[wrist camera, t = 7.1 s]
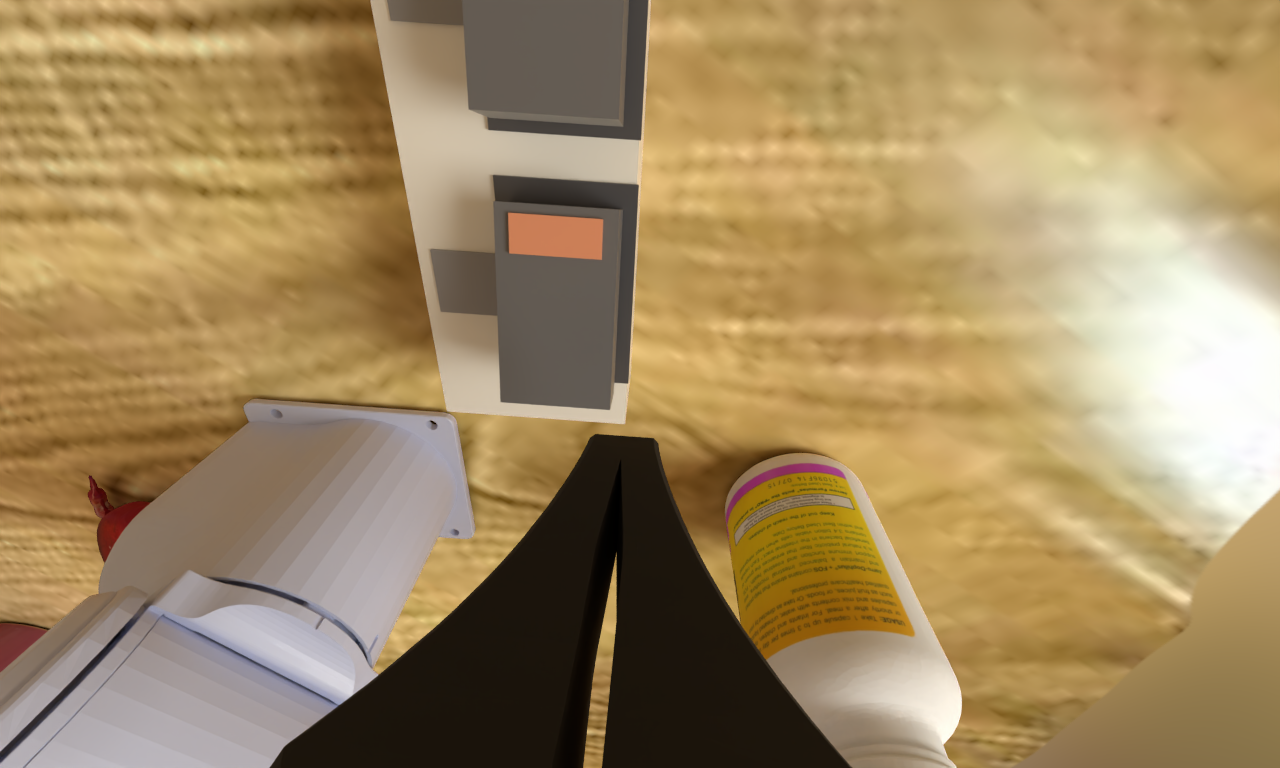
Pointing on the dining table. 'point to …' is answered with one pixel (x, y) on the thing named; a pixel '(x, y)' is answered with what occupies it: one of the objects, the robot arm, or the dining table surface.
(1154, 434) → the dining table surface
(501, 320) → the block
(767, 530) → the supplement bottle
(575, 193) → the rocker switch panel
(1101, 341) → the dining table surface
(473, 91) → the rocker
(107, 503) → the decorative bird figurine
